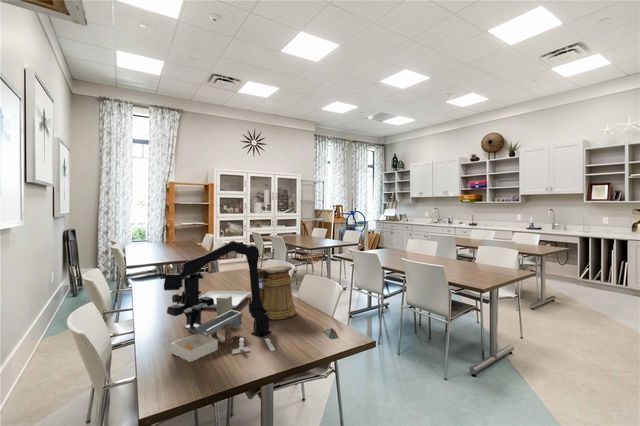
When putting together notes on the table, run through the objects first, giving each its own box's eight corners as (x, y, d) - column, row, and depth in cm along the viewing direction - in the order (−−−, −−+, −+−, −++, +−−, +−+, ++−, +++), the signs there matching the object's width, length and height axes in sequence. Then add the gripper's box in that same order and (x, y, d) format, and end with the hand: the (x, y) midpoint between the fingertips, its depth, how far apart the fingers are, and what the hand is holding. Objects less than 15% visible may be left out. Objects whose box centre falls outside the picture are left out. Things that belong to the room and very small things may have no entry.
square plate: (252, 297, 197) (252, 291, 196) (236, 312, 169) (236, 304, 169) (210, 295, 199) (210, 289, 199) (188, 310, 172) (188, 302, 172)
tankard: (299, 317, 160) (300, 269, 160) (252, 323, 152) (253, 272, 152) (290, 307, 177) (291, 262, 177) (248, 311, 169) (248, 265, 169)
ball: (196, 349, 122) (192, 342, 120) (189, 356, 119) (185, 350, 118) (190, 346, 123) (186, 340, 122) (183, 354, 121) (179, 347, 119)
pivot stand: (216, 335, 138) (216, 318, 138) (233, 341, 132) (233, 324, 132) (208, 338, 135) (208, 321, 134) (225, 345, 129) (225, 327, 128)
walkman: (257, 297, 195) (257, 278, 195) (256, 296, 198) (256, 277, 197) (269, 296, 198) (269, 277, 198) (268, 294, 201) (268, 276, 200)
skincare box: (232, 320, 156) (232, 296, 156) (227, 323, 152) (227, 298, 151) (221, 319, 158) (221, 294, 157) (216, 322, 153) (216, 297, 153)
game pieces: (233, 359, 118) (233, 344, 118) (229, 344, 130) (229, 331, 130) (341, 340, 135) (341, 327, 135) (329, 329, 147) (329, 317, 147)
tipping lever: (219, 317, 148) (218, 305, 147) (243, 325, 139) (241, 312, 138) (185, 335, 133) (183, 322, 132) (208, 344, 124) (207, 330, 124)
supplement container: (201, 327, 147) (201, 305, 146) (185, 329, 144) (185, 307, 144) (201, 322, 153) (201, 301, 153) (186, 324, 150) (186, 302, 150)
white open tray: (217, 349, 125) (217, 339, 124) (189, 362, 114) (189, 351, 114) (198, 342, 131) (198, 332, 131) (170, 353, 121) (170, 343, 121)
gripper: (199, 281, 145) (199, 315, 145) (159, 290, 129) (159, 328, 130) (214, 285, 138) (214, 320, 139) (175, 295, 123) (175, 335, 123)
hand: (191, 325), depth 133 cm, fingers closed
